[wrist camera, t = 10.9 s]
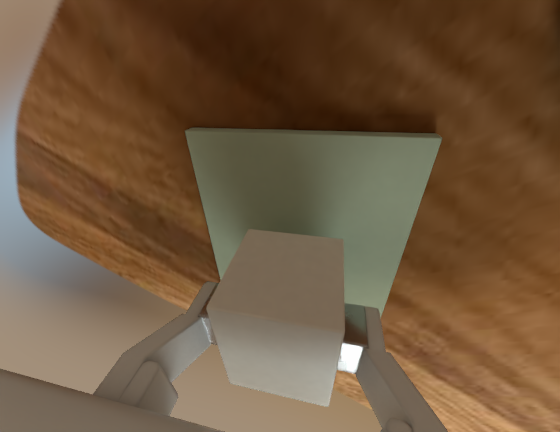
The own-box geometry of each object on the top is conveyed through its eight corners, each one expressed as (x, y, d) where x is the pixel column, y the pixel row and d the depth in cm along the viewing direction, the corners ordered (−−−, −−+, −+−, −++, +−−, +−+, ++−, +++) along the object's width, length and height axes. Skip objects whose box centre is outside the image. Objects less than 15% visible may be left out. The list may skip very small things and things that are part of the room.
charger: (247, 228, 10) (204, 307, 7) (343, 238, 9) (345, 333, 6) (257, 305, 13) (230, 387, 10) (331, 318, 12) (328, 411, 9)
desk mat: (191, 127, 11) (183, 130, 10) (437, 132, 9) (443, 137, 8) (229, 299, 17) (226, 306, 17) (375, 323, 15) (376, 332, 15)
